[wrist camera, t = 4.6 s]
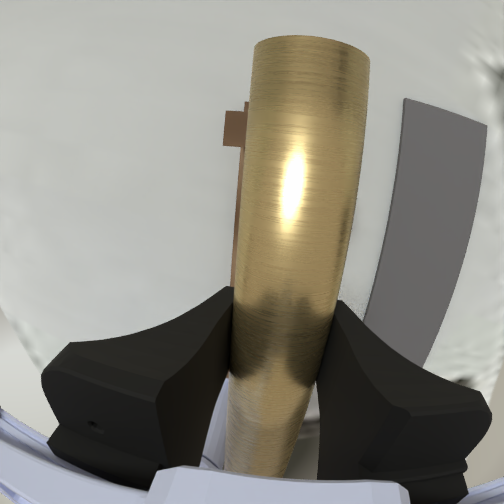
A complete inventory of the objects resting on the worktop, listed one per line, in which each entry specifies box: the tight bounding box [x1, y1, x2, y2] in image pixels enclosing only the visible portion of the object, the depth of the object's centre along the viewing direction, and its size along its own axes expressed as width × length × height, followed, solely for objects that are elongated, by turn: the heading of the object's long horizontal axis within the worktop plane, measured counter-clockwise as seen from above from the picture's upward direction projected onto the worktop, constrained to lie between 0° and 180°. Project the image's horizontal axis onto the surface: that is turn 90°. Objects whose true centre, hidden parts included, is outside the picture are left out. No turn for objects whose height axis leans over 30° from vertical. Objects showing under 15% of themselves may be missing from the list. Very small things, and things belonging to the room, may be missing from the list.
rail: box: [224, 35, 370, 478], centre depth 10 cm, size 17×3×3 cm, turn 175°
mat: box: [363, 98, 487, 368], centre depth 20 cm, size 21×7×1 cm, turn 175°
